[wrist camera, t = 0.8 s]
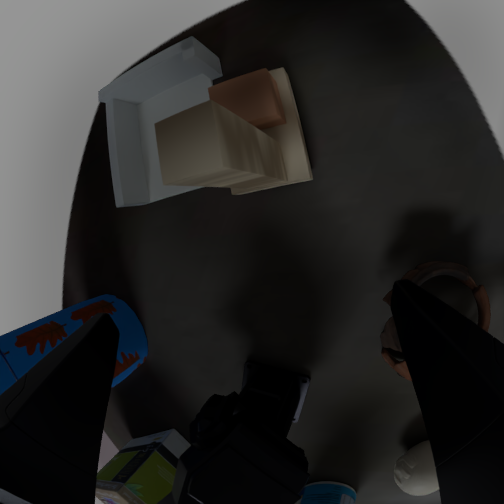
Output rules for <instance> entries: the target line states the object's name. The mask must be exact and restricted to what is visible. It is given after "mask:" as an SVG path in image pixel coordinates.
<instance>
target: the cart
mask: <svg viewBox="0 0 504 504" xmlns="http://www.w3.org/2000/svg"><path fill="white" fill-rule="evenodd" d="M208 92H209V98H210V100H208V101H206V102H203V103H201V104H198V105H196V106H193V107H191V108H188V109H186V110H184V111H181V112H179V113H177V114H174V115H172V116H170V117H168V118H165V119H163V120H161V121H159V122H157V123H155V124H154V125H155V133H156V141H157V148H158V155H159V162H160V169H161V175H162V181H163V185H165V186H204V187H226V188H231V192H232V195H241V194H246V193H250V192H255V191H259V190H264V189H269V188H273V187H278V186H283V185H288V184H293V183H299V182H304V181H309V180H313V176H312V171H311V165H310V161H309V157H308V152H307V148H306V143H305V139H304V135H303V131H302V126H301V122H300V118H299V114H298V110H297V106H296V103H295V99H294V94H293V90H292V87H291V84H290V80H289V77H288V74H287V73H286V71H285V69H284V68H283V67H282V68H278V69H275V70H271V71H268V70H267V69H266V68H264V69H260V70H257V71H254V72H251V73H248V74H245V75H242V76H239V77H236V78H233V79H230V80H227V81H225V82H222V83H219V84H216V85H214V86H211V87H209V88H208Z"/></svg>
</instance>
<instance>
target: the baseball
mask: <svg viewBox="0 0 504 504" xmlns="http://www.w3.org/2000/svg"><path fill="white" fill-rule="evenodd" d="M394 479H395V482H396V484H397V485H398V486H399V487H400V488H401V489H402V490H403V491H404V492H406V493H408V494H411V495H415V496H421V495H427V494H430V493H433V492H435V491H437V490H438V489H439V485H438V479H437V474H436V467H435V464H434V459H433V454H432V450H431V446H430V442H429V440H427V441H423V442H420V443H419V444H417V445H415V446H413V447H412V448H411V449H409V450H408V451H407V452H406V453H405V454H404V455H402V456H401V457H400V458H399V459H398V460H397V462H396V463H395V467H394Z"/></svg>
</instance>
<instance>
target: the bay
mask: <svg viewBox="0 0 504 504" xmlns="http://www.w3.org/2000/svg"><path fill="white" fill-rule="evenodd" d="M222 76H223V74H222V69H221V64H220V59H219V58H218V57H217V56H216V55H215V54H214V53H213V52H211V51H210V50H209V49H208V48H206V47H205V46H204V45H203V44H202V43H200V42H199V41H198V40H197V39H195V38H194V37H193V36H191V37H189V38H187V39H185V40H183V41H181V42H179V43H177V44H175V45H173V46H171V47H169V48H167V49H165V50H163V51H161V52H160V53H158V54H156V55H154V56H152V57H151V58H149V59H147V60H145V61H144V62H142V63H140V64H139V65H137V66H136V67H134V68H132V69H131V70H129V71H128V72H126V73H124V74H123V75H121V76H120V77H118V78H117V79H115V80H114V81H113V82H111V83H110V84H108V85H107V86H106V87H104V88H103V89H101V90H100V91H99V101H100V102H104V103H106V118H107V134H108V146H109V156H110V165H111V174H112V182H113V189H114V196H115V202H116V207H127V206H138V205H145V204H149V203H152V202H155V201H158V200H161V199H165V198H168V197H171V196H175V195H178V194H181V193H185V192H188V191H192V190H195V189H199V188H202V187H204V186H165V185H163V181H162V175H161V169H160V162H159V155H158V148H157V141H156V133H155V125H154V124H155V123H157V122H159V121H161V120H163V119H165V118H168V117H170V116H172V115H174V114H177V113H179V112H181V111H184V110H186V109H188V108H191V107H193V106H196V105H198V104H201V103H203V102H206V101H208V100H210V98H209V92H208V88H209V87H211V86H213V81H212V80H214V79H216V78H219V77H222Z"/></svg>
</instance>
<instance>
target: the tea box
mask: <svg viewBox="0 0 504 504" xmlns="http://www.w3.org/2000/svg"><path fill="white" fill-rule="evenodd" d="M190 446H191V444H190V443H189V442H188V441H187V440H186V439H185V438H184V437H182V436H181V435H180V434H179V433H178V432H177V431H176V430H175V429H170V430H167V431H163V432H160V433H156V434H152V435H148V436H144V437H140V438H135V439H132V440H130V441H129V442H128V443H127V444H126V445H125V446H124V447H123V448H122V449H121V450H120V451H119V452H118V453H117V454H116V455H115V456H114V457H113V458H112V459H111V460H110V461H109V462H108V463H107V464H106V465H105V466H104V467H103V468H102V469H101V470H100V471H99V472H98V473H97V481H96V493H95V496H96V497H97V498H98V499H99V500H101V501H102V502H103V503H104V504H157V503H158V502H159V501H160V500H162V499H163V498H164V497H165V496H167V495H168V494H169V493H170V492H171V491H172V487H173V482H174V478H175V473H176V469H177V464H178V460H179V457H180V456H181V455H182V454H183V453H184V452H185V451H186V450H187V449H188V448H189V447H190Z"/></svg>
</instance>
